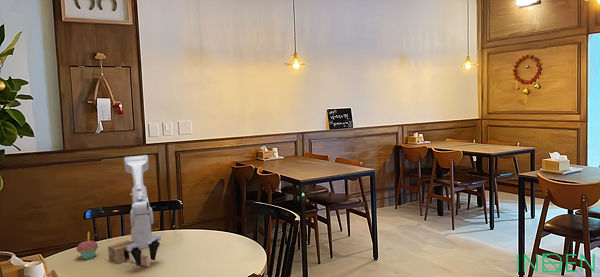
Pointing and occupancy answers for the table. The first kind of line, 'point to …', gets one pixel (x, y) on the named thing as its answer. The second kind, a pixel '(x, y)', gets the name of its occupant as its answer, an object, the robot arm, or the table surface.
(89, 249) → the cupcake
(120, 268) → the table surface
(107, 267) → the table surface
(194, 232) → the table surface
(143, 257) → the pink flat bar
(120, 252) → the dispenser
